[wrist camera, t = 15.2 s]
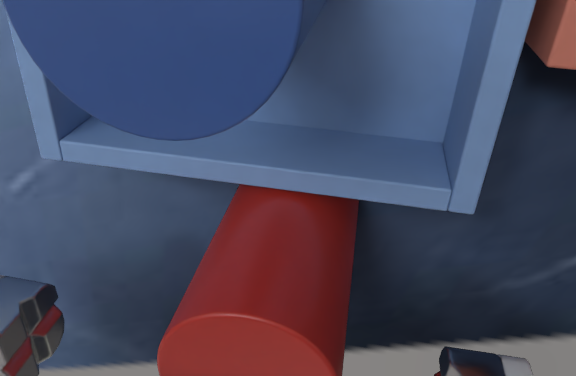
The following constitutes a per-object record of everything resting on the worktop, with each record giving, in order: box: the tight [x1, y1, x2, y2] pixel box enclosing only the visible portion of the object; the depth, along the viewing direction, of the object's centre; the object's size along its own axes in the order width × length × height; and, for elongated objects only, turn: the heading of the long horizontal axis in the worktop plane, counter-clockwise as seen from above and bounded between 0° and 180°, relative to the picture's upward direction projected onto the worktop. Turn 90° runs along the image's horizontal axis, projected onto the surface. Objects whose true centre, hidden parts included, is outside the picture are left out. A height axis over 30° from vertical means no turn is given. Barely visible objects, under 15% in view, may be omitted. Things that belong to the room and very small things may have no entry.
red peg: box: [157, 184, 359, 376], centre depth 12 cm, size 4×4×7 cm
